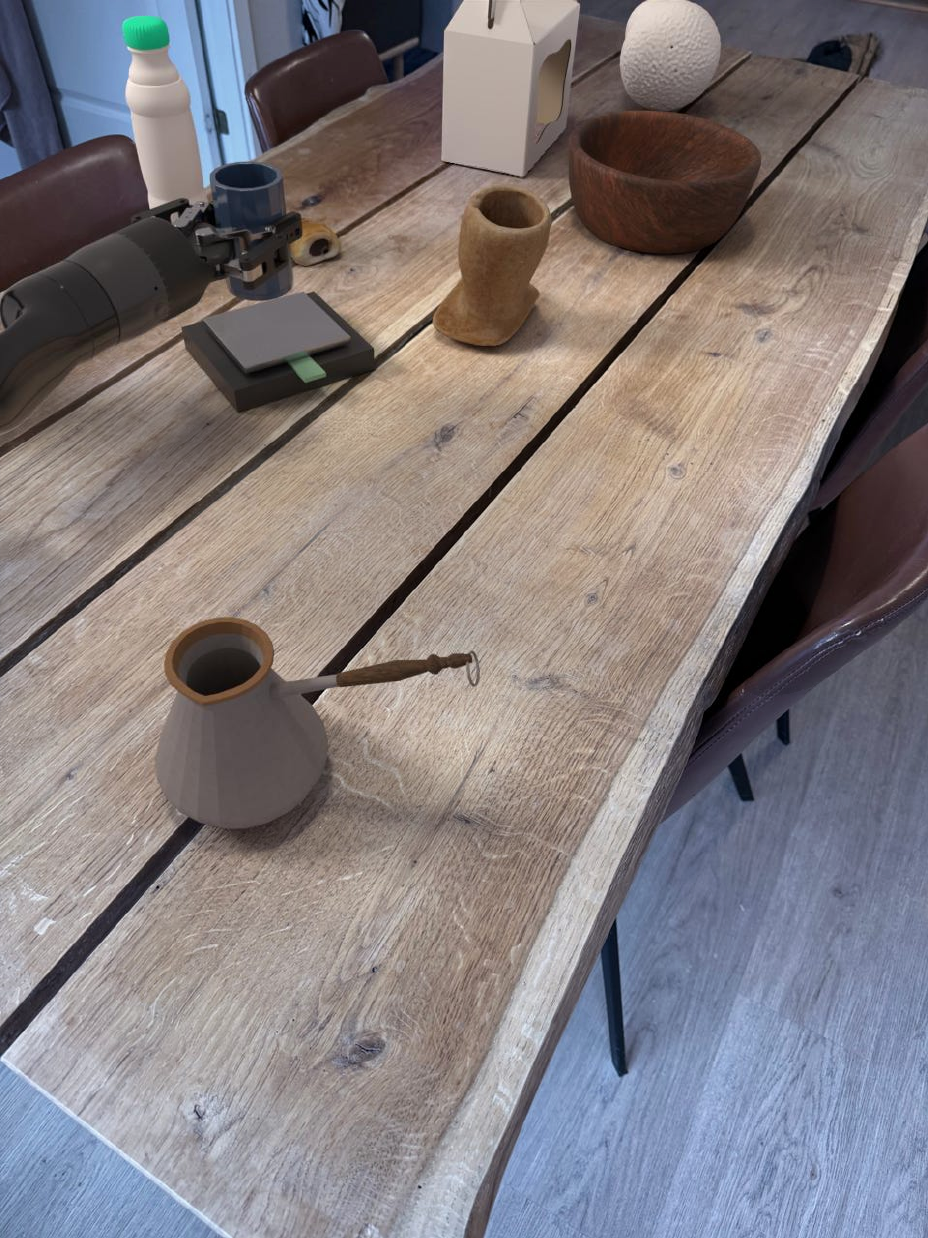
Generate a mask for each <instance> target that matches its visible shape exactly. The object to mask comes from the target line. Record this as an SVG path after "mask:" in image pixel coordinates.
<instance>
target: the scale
mask: <svg viewBox="0 0 928 1238" xmlns="http://www.w3.org/2000/svg"><path fill="white" fill-rule="evenodd" d="M305 293H306V292H305ZM306 294H307V295H308V296H309V297H310V298H311V299H312V300H313V301H314V302H315V303H316V304H317V305H318V306H319V307H320V308H321V309H322V310H323V311H324V312H325V313H326V314H327V315H328V316H329V317H330V318H332V319H333V320H334V321H335V322H336V323H337V324H338V325H339V326H340V327H341V328H342V329H343V330H344V331H345V332H346V333H347V334H348V335H349V336H350V340H351V343H349V344H346V345H342V346H339V347H336V348H332V349H329V350H325V351H322V352H319V353H315V354H312V355H309V356H305V357H302V358H299V359H295V360H292V361H289V362H285V363H282V364H279V365H275V366H272V367H269V368H265V369H262V370H259V371H255V372H252V373H248V374H245V373H244V371H243V370H242V369H241V368H240V367H239V366H238V364H237V363H236V362H235V361H234V360H233V359H232V357H231V356H230V355H229V354H228V353H227V352H226V350H225V349H224V348H223V347H222V346H221V345H220V343H219V342H218V341H217V340H216V339H215V338H214V336H213V335H212V334H211V333H210V332H209V331H208V329H207V328H206V327H205V326H204V325H203V320H202V321H199V322H194V323H191V324H188V325H184V326H181V327H180V328H181V333H182V338H183V343H184V347H185V350H186V351H187V352H188V353H189V354H190V355H191V357H192V358H193V359H194V360H195V362H196V363H197V364H198V365H199V367H200V368H201V369H202V371H204V373H205V374H206V375H207V376H208V378H209V379H210V380H211V381H212V382H213V384H214V385H215V386H216V388H217V389H218V390H219V391H220V393H221V394H222V395H223V396H224V397H225V399H226V400H227V401H228V402H229V404H230V405H231V406H232V407H233V409H234V410H235V411H236V412H237V413H241V412H245V411H248V410H251V409H253V408H257V407H260V406H263V405H267V404H270V403H272V402H276V401H280V400H283V399H286V398H290V397H292V396H295V395H298V394H301V393H305V392H307V391H312V390H315V389H316V388H317V389H318V388H321V387H324V386H326V385H327V386H328V385H330V384H333V383H336V382H339V381H342V380H346V379H349V378H352V377H355V376H359V375H362V374H365V373H368V372H371V371H374V370H376V360H375V359H376V357H375V347H374V346H372V345H371V344H370V343H369V342H368V341H367V339H365V338H364V337H363V335H361V334H360V333H359V331H357V330H356V329H355V328H353V327H352V326H351V324H349V323H348V322H347V321H346V320H345V319H344V318H343V317H342V316H341V315H340V314H339V313H338V312H337V311H336V310H335V309H334V308H332V306H331V305H330V304H328V303H327V302H326V301H325V300H324V299H323V298H322V297H321V296H320V295H319V294H318V293H316V291H311V292H310V291H309V292H307V293H306Z"/></svg>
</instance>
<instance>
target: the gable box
mask: <svg viewBox="0 0 928 1238" xmlns="http://www.w3.org/2000/svg"><path fill="white" fill-rule="evenodd" d="M580 10H581V4H580V3H579V0H462V2H461V4H460V6H459V7H458V9H457V10H456V12H455V13H454V15H453V17H452V18H451V20H450V21H449V23H448V24H447V26H446V27H445V28H444V29H443V30H444V31H443V66H442V67H443V69H442V70H443V71H442V74H443V75H442V115H441V116H442V119H441V122H442V123H441V157H440V159H441V161H442V162H443V161H446V162H450V163H455V164H456V163H457V164H464V165H471V166H477V167H485V168H488V169H493V170H498V171H502V172H506V173H510V174H514V175H519V176H522V177H523V176H524V177H525V176H527V174H528V173H529V172H530V171H531V169H532V168H534V166H535V165H536V164H537V163H538V161H539V160H541V158H542V157H543V156H544V155H545V154H546V152H547V151H548V150H549V149H550V148H551V147H552V145H553V144H554V143H555V142H556V141H557V139H558V138H559V137H560V136H561V135H562V134H563V132H564V131H565V130H566V129H567V122H568V113H569V104H570V98H571V97H570V96H571V87H572V79H573V72H574V62H575V55H576V54H575V53H576V46H577V45H576V44H577V37H578V29H579V19H580ZM536 122H538V123H544V124H547V125H546V126H545V128H544V129H543V131H542V133H541V135H540V136H539V137H538V136H537V135H536V136H537V138H539V139H538V141H537V142H536V143H535V140H534V138H535V128H536ZM565 128H566V129H565ZM564 129H565V130H564ZM563 130H564V131H563ZM561 133H562V134H561ZM560 134H561V135H560ZM559 135H560V136H559ZM558 136H559V137H558ZM554 141H555V142H554ZM553 142H554V143H553ZM552 143H553V144H552ZM551 144H552V145H551ZM548 148H549V149H548ZM547 149H548V150H547ZM546 150H547V151H546ZM545 151H546V152H545ZM542 155H543V156H542ZM541 156H542V157H541ZM540 157H541V158H540ZM450 163H449V164H450ZM535 163H536V164H535ZM455 164H454V165H455ZM534 164H535V165H534ZM529 170H530V171H529ZM528 171H529V172H528ZM524 177H523V178H524Z"/></svg>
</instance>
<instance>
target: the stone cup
mask: <svg viewBox="0 0 928 1238" xmlns="http://www.w3.org/2000/svg"><path fill="white" fill-rule="evenodd" d="M552 220H553V219H552V213H551V211H550V208H549V206H548V205H547V203H546V202H545V201H544V200H543V198H541V197H540V196H538V195H537V194H536V193H534V192H533V191H531V190H529V189H527V188H524V187H523V186H519V185H515V184H508V183H503V184H502V183H501V184H489V185H486V186H484V187H482V188H480V189H479V190H477V191H476V192H474V194H472V196H471V197H470V199H469V200H468V202H467V204H466V206H465V208H464V211H463V214H462V218H461V223H460V230H459V235H458V247H457V248H458V249H457V251H458V252H457V255H458V256H457V259H458V266H459V269H460V275H461V278H460V279H459V281H458V282H457V283H456V285H455V286H454V287H453V288H452V289H451V290H450V292H448V294H447V295H446V296H445V298H443V300H442V301H441V303H440V304H439V305H438V307H437V309H436V310H435V312H434V314H433V318H432V325H433V327H434V329H435V330H436V331H437V332H438V333H440V334H442V335H443V336H445V337H447V338H450V339H452V340H455V341H458V342H461V343H464V344H470V345H474V346H483V347H485V346H491V347H496V346H500V345H503V344H505V343H506V342H507V341H509V340H510V339H511V338H512V337H513V336H514V335H515V334H516V333H517V332H518V331H519V330H520V328H521V327H522V325H523V323H524V322H525V320H526V319H527V317H528V315H529V314H530V312H531V311H532V309H533V307H534V306H535V304H536V302H537V301H538V299H539V297H540V291H539V290H538V288H537V287H536V286H535V285H534V284H532V283H530V282H531V280H532V278H533V276H534V275H535V273H536V271H537V270H538V267H539V265H540V264H541V261H542V259H543V257H544V256H545V253H546V250H547V248H548V244H549V240H550V233H551V230H552V223H553V221H552Z"/></svg>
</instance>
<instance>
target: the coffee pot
mask: <svg viewBox="0 0 928 1238" xmlns="http://www.w3.org/2000/svg"><path fill="white" fill-rule="evenodd" d="M164 657H165V658H164V662H163V668H164V675H165V677H166V679H167V681H168V682H169V684H170V685H171V687H173V688H174V689H175V690H176V694H175V697H174V698H173V702H172V705H171V707H170V710H169V712H168V715H167V718H166V720H165V723H164V726H163V728H162V731H161V734H160V737H159V739H158V744H157V749H156V753H155V756H154V765H155V774H156V780H157V783H158V785H159V787H160V789H161V791H162V793H163V796H164V797H165V798H166V799H167V801H168V802H169V803H171V804H172V806H173V807H175V809H176V810H177V811H178V812H179V813H181V814H182V815H185V816H186V817H188V818H190V819H192V820H193V821H196V822H198V823H199V824H202V825H206V826H211V827H214V828H219V829H224V830H229V829H230V830H231V829H234V830H235V829H236V830H237V829H249V828H253V827H258V826H260V825H264V824H265V825H266V824H268V823H270V822H272V821H274V820H276V819H278V818H280V817H282V816H285V815H287V814H288V813H289V812H291V811H292V810H293V809H294V808H296V807H297V806H298V805H299V804H300V803H302V802H303V801H304V800H305V799H306V798H307V796H308V795H309V793H311V791H312V789H314V786H316V784H317V783H318V781H319V780H320V778H321V775H322V772H323V770H324V767H325V765H326V762H327V759H328V745H329V744H328V743H329V739H328V735H327V731H326V727H325V724H324V721H323V720H322V718H321V716H320V715H319V713H318V712H317V710H316V709H315V707H314V705H313V704H312V703H310V702H309V701H308V700H307V699H306V698H305V697H303V694H307V693H312V692H318V691H323V690H328V689H334V688H347V687H358V686H365V685H366V686H367V685H376V684H385V683H393V682H401V681H405V680H406V679H410V678H414V677H416V676H420V675H423V674H426V673H429V674H431V675H434V676H435V675H436V676H437V675H438V674H440V672H442V670H445V669H449V668H450V669H456V670H457V669H460V668H462V667H465V671H466V678H467V681H468V682H469V685H470V686H471V687H473V688H474V687H477V686H478V685H479V682H480V678H481V677H480V676H481V675H480V673H481V672H480V671H481V670H480V668H481V667H480V662H479V659H478V655H477V653H476V652H475V650H473V649H472V650H469V651H468V652H467V653H464V652H454V653H450V654H449V655H448V656H439V655H437V654H436V653H431V654H430V655H428V657H427V658H424V659H423V658H422V659H421V658H420V659H394V660H389V661H385V662H381V663H380V662H379V663H376V664H371V665H368V666H363V667H359V668H355V669H350V670H346V671H342V672H338V673H337V674H331V675H323V676H316V677H310V678H309V677H308V678H303V679H295V680H289V681H288V680H287V681H286V680H285V679H284V678H283V677H282V676H281V675H280V674H278V673H277V672H276V671H275V670H274V669H273V668H272V667H273V664H274V659H275V649H274V644H273V641H272V640H271V638H270V636H269V635H268V634H267V632H266V630H264V629H263V628H261V626H259V625H257V624H256V623H254V622H252V621H250V620H247V619H243V618H239V617H234V616H224V617H223V616H220V617H214V618H209V619H204V620H202V621H200V622H197V623H195V624H192V625H191V626H189V627H188V628H186V629H185V630H183V631H181V633H179V634H178V636H176V637H175V638H174V639H173V640H172V641H171V644H170V645H169V647H168V649H167V650H166V653H165V656H164ZM473 659H474V663H475V669H476V670H475V671H476V672H475V673H476V678H475V682H474V681H473V679H472V677H471V670H470V669H471V668H470V665H471V664H472V663H473Z"/></svg>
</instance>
